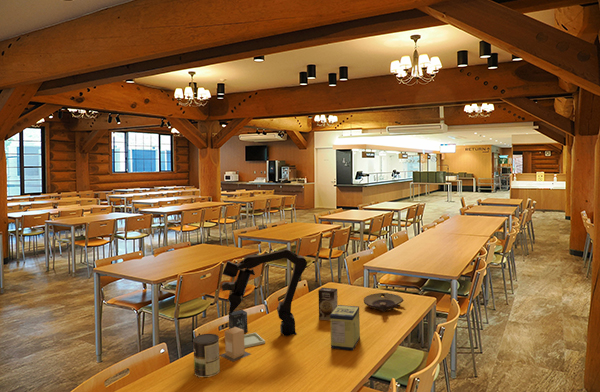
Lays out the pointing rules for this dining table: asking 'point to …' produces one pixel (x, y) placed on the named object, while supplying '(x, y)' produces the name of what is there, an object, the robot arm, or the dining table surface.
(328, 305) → the coffee box
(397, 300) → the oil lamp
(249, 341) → the tray
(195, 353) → the coffee can
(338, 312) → the protein box
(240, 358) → the mat
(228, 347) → the carton
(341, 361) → the dining table surface
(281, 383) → the dining table surface
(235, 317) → the box
